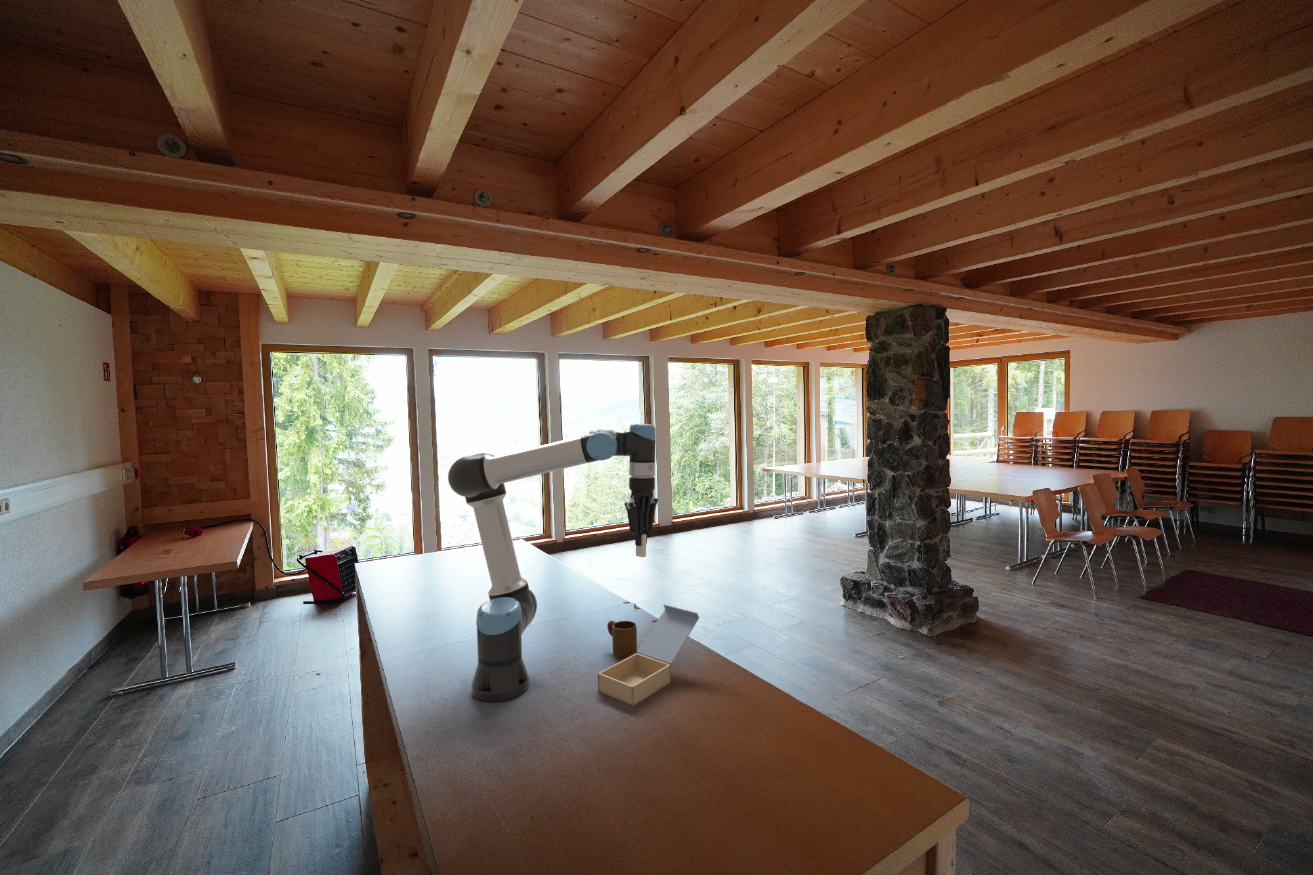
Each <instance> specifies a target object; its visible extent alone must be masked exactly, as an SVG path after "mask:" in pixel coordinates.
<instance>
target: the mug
mask: <svg viewBox="0 0 1313 875" xmlns="http://www.w3.org/2000/svg"><path fill="white" fill-rule="evenodd" d="M606 629H607V631H608V634H609V635H610V636H611V637H612V638H611V639H612V640H611V641H612V654H613V657H615V658H616V659H619V660H624V659H626V658H628V657H630V656H632V655H634V654H636V653H637V651H638V632H637V631H638V629H637V624H636V623H635V622H634V621H631V620H621V621H617V622H616V621H615V620H609V621H608V622H607V628H606ZM637 654H638V653H637Z"/></svg>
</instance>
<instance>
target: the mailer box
mask: <svg viewBox="0 0 1313 875" xmlns="http://www.w3.org/2000/svg"><path fill="white" fill-rule="evenodd" d="M671 668H672V664H670V663H667V662H664V661H661V660H658V659H655V658H652V657H649V656H646V655H643V654H640V653H636V654H634V655H632V656H630V657H628V658H626V659H621V661H619V662H616V663H614V664H613V665H611V666H609V667H607V668H605V669H604V670H602V671H599V672H597V692H598V693H600V694H602V695H605V696H607V697H610V698H613V699H615V700H617V701H619V702H622V703H623V704H627V705H629V706H631V707H635V706H637V705H638V704H639V703H641V702H642V701H644V700H645V699H647V698H649V697H650V696H652V695H653V694H655V693H657V692H658V691H660V690H661V689H663V688H664V687H666V686H668V685H669V684H671V683H672V680H671V679H672V670H671Z"/></svg>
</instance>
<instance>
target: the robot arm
mask: <svg viewBox="0 0 1313 875" xmlns="http://www.w3.org/2000/svg"><path fill="white" fill-rule="evenodd" d="M656 439H657V438H656V427H655V426H654V425H653V424H649V423H645V424H644V423H633V424H632V423H631V424H630V426H629V429H628V430H615V429H614V430H610V429H596V430H594V429H593V430H590V431H589V433H588V434H584V435H582V436H581V435H579V436H576V437H571V438H567V439H564V440H560V441H559V440H558V441H555V442H552V443H551V442H550V443H548V444H547V443H546V444H542V445H539V446H534V447H530V448H526V449H522V450H517V451H514V452H509V453H505V454H501V455H495V454H491V453H483V452H482V453H476V454H473V455H466V456H463V457H460V458H458V459H457V460H455V462H453V463H452V465H451V466H450V468H449V470H448V474H447V481H448V484H449V487H450V488H451V489H452V491H453V492H454V493H456V494H457V495H458V496H461V497H464V498H465V502H466V504H467V505H468V506H470V507H472V508H473V512H474V516H475V521H476V524H477V530H478V533H479V537H480V541H481V545H482V549H483V554H484V557H485V561H486V563H485V564H486V566H487V570H488V575H489V578H490V583H491V588H489V591H488V598H489V600H487V601H485V602H484V603H482V604H481V605H480V606H479V608H478V609H477V612H476V619H475V623H476V625H475V626H476V638H477V666H476V670H475V673H474V676H473V679H472V682H471V694H472V696H473V698H475V699H476V700H478V701H480V702H481V701H482V702H487V703H488V702H489V703H491V702H493V703H495V702H505V701H509V700H511V699H515V698H517V697H519V696H521V695H523V694H524V693H525V692H526V691H527V690H528V688H529V686H530V676H529V673H528V670H527V667H526V665H525V662H524V659H523V653H522V652H523V646H522V644H523V642H522V636H523V634H524V632H526V629H527V628H528V627H529V625H531V623H532V622H533V620H534V618H535V616H536V613H537V610H538V601H537V598H536V595H535V594H534V592H533V591H532V590H531V589H530V586H529V582H528V581H527V580H526V579H525V578H523V577H522V575H521V572H520V571H521V570H520V567H519V562H518V559H517V556H516V551H515V547H514V541H513V538H512V535H511V530H510V525H509V521H508V517H507V514H506V509H505V504H504V498H505V496H506V495H507V490H506V487H505V484H506V483H511V482H514V481H518V480H523V479H525V478H531V477H535V476H538V475H544V474H547V473H552V472H556V471H560V470H565V469H568V468H573V467H577V466H580V465H585V464H589V463H594V462H599V461H606V460H610V459H611V458H612V457H615V456H616V457H621V456H622V457H629V465H628V466H629V469H628V470H629V471H628V474H629V476H630V477H629V479H628V480H629V481H628V488H629V490H630V491H631V492H630V499H629V500H628V501H624V504H623V505H624V507H625V509H626V513H627V520H628V527H629V533H630V534H632V535H634V540H635V541H634V545H635V556H636V557H640V558H646V557H647V544H648V535H650V534H651V531H653V526H654V520H655V514H656V508H657V505H658V501H659V498H656V497H654V494H653V491H654V490H655V489H656V488H655V487H656V486H655V485H656V484H655V482H656V479H655V477H654V476H655V475H656V473H655V472H656V471H655V468H656V466H655V465H656V441H657V440H656Z"/></svg>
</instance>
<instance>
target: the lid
mask: <svg viewBox="0 0 1313 875" xmlns="http://www.w3.org/2000/svg"><path fill="white" fill-rule="evenodd" d="M662 606H663V608H664V610H663V611H662V613H661V614H660V616H659V617H658V619H657V620H656V622H655V624H654V625H653V627H652V628H651V630H650V631H649V633H648V634H647V636H646V637H645V639H644V640H643V642H642V643H641V645H640V647H639V648H637V654H640V655H643V656H646V657H649V658H652V659H655V660H658V661H661V662H664V663H667V664H670V665H672V664H673V662H674V661H675V659H676V657H677V655H678V654H679V652H680V651H681V649H682V647H683V645H684V644H685V642H686V641H687V639H688V638H689V636H690V634H691V633H692V631H693V630H694V627H695V626H696V624H697V622H698V620H699V619H700V616H699V613H698V612H695V611H692V610H688V609H683V608H678V607H676V606H672V605H668V604H663V605H662Z"/></svg>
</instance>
